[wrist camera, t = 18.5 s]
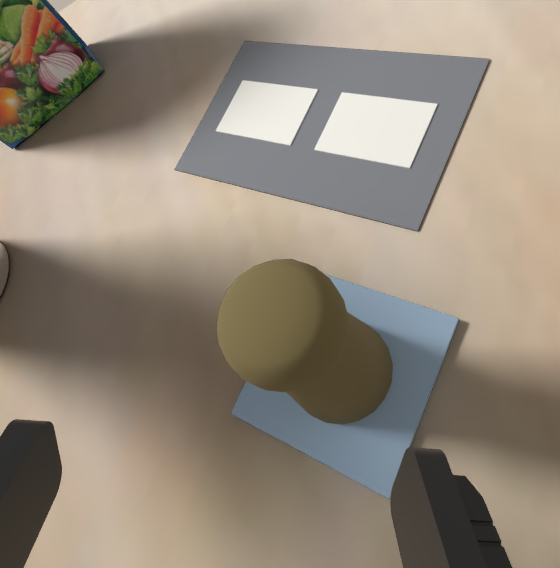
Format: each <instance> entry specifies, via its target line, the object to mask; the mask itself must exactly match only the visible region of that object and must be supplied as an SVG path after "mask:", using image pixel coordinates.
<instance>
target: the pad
mask: <svg viewBox="0 0 560 568" xmlns="http://www.w3.org/2000/svg"><path fill="white" fill-rule="evenodd" d="M325 275H326V274H325ZM326 276H327V277H329V278H330V279H331V281H332V282H333V284H334V285H335V287H336V288H337V290H338V291H339V293H340V294H341V296H342V298H343V299H344V302H345V306H346V310H347V312H348V313H350V314H351V315H353V316H355V317H356V318H358V319H359V320H361V321H362V322H364V323H365V324H367V325H368V326H369V327H371V328H372V329H373V330H375V331H376V332H377V333H378V334H379V335H380V336H381V338H382V339H383V341H384V342H385V344H386V345H387V347H388V348H389V352H390V356H391V359H392V363H393V372H392V383H391V385H390V388H389V391H388V393H387V396H386V398H385V399H384V401H383V402H382V403H381V404H380V405H379V407H378V408H377V409H376V410H375V411H374V412H373V413H371V414H370V415H368V416H366V417H365V418H363V419H361V420H360V421H356V422H352V423H347V424H343V425H342V424H333V423H325V422H323V421H321V420H319V419H317V418H315V417H313V416H311V415H310V414H309V413H308V412H306V411H305V410H304V409H303V408H302V407H301V406H300V405H299V404H298V403H297V402H296V401H295V400H294V399H293V398H292V397H291V396H290V395H289V394H288V393H287V392H277V391H267V390H264V389H261V388H259V387H257V386H255V385H252V384H250V383H248V382H245V384H244V386H243V388H242V390H241V392H240V395H239V397H238V399H237V401H236V403H235V405H234V407H233V410H232V412H231V414H232V415H234V416H236V417H238V418H240V419H241V420H243V421H245V422H247V423H249V424H251V425H253V426H254V427H256V428H258V429H260V430H262V431H264V432H265V433H267V434H269V435H271V436H273V437H275V438H277V439H278V440H280V441H282V442H284V443H286V444H288V445H290V446H291V447H293V448H295V449H297V450H299V451H301V452H303V453H304V454H306V455H308V456H310V457H312V458H314V459H315V460H317V461H319V462H321V463H323V464H325V465H327V466H328V467H330V468H332V469H334V470H336V471H338V472H340V473H341V474H343V475H345V476H347V477H349V478H351V479H352V480H354V481H356V482H358V483H360V484H362V485H364V486H365V487H367V488H369V489H371V490H373V491H375V492H377V493H378V494H380V495H382V496H384V497H386V498H388V499H390V498H391V490H392V486H393V483H394V481H395V478H396V475H397V472H398V469H399V467H400V464H401V461H402V458H403V455H404V453H405V450H406V449H407V448H409V447H410V446H411V444H412V441H413V438H414V436H415V433H416V431H417V428H418V425H419V423H420V420H421V418H422V415H423V412H424V410H425V407H426V405H427V402H428V399H429V397H430V394H431V392H432V389H433V386H434V384H435V381H436V379H437V376H438V373H439V371H440V368H441V366H442V363H443V360H444V358H445V355H446V353H447V350H448V347H449V345H450V342H451V340H452V337H453V334H454V332H455V329H456V327H457V324H458V321H459V318H457V317H454V316H451V315H448V314H445V313H442V312H439V311H436V310H433V309H429V308H426V307H423V306H420V305H417V304H414V303H411V302H408V301H405V300H402V299H399V298H396V297H393V296H390V295H387V294H384V293H381V292H378V291H375V290H371V289H368V288H365V287H362V286H359V285H356V284H353V283H350V282H347V281H344V280H341V279H338V278H335V277H332V276H329V275H326Z"/></svg>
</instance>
